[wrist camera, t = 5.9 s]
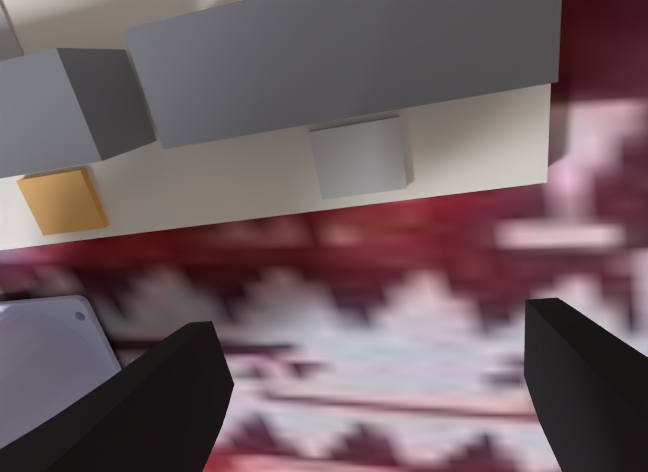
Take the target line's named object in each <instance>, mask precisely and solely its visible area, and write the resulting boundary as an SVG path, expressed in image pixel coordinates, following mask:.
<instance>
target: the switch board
mask: <svg viewBox="0 0 648 472" xmlns="http://www.w3.org/2000/svg"><path fill="white" fill-rule="evenodd" d="M237 1H241V0H0V61H4V60H8V59H12V58H17V57H21V56H25V55H29V54H33V53H37V52H41V51H45V50H49V49H53V48H84V49H124V50H126V53H127V56H128V59H129V62H130V65H131V68H132V70H133V73H134V76H135V79H136V82H137V85H138V88H139V91H140V94H141V97H142V100H143V102H144V105H145V108H146V111H147V114H148V117H149V120H150V123H151V126H152V129H153V131H154V134H155V137H156V140H157V141H156V142H153V143H150V144H147V145H145V146H142V147H139V148H137V149H134V150H131V151H128V152H126V153H123V154H120V155H118V156H115V157H112V158H110V159H107V160H104V161H101V162H95V163H89V164H83V165H77V166H71V167H65V168H59V169H54V170H48V171H42V172H36V173H30V174H24V175H18V176H12V177H6V178H1V179H0V250H6V249H14V248H22V247H30V246H38V245H46V244H54V243H62V242H70V241H78V240H86V239H95V238H103V237H111V236H119V235H127V234H135V233H143V232H151V231H159V230H167V229H175V228H183V227H191V226H199V225H208V224H216V223H224V222H232V221H240V220H248V219H256V218H264V217H272V216H280V215H288V214H296V213H304V212H312V211H320V210H329V209H337V208H345V207H353V206H361V205H369V204H377V203H385V202H393V201H401V200H409V199H417V198H425V197H433V196H441V195H450V194H458V193H466V192H474V191H482V190H490V189H498V188H506V187H514V186H522V185H530V184H538V183H546V182H547V170H548V144H549V119H550V93H551V83H550V84H544V85H538V86H532V87H526V88H520V89H514V90H509V91H503V92H497V93H491V94H485V95H479V96H473V97H468V98H462V99H456V100H450V101H444V102H438V103H432V104H427V105H421V106H415V107H409V108H403V109H397V110H391V111H386V112H380V113H374V114H368V115H362V116H356V117H350V118H345V119H339V120H333V121H327V122H321V123H315V124H309V125H303V126H298V127H292V128H286V129H280V130H274V131H268V132H262V133H257V134H251V135H245V136H239V137H233V138H227V139H221V140H216V141H210V142H204V143H198V144H192V145H186V146H180V147H175V148H169V149H163V147H162V144H161V141H160V138H159V135H158V132H157V129H156V126H155V123H154V120H153V117H152V114H151V111H150V108H149V105H148V102H147V100H146V97H145V94H144V91H143V88H142V85H141V82H140V79H139V76H138V73H137V70H136V67H135V64H134V61H133V58H132V55H131V52H130V50H129V47H128V44H127V41H126V38H125V35H124V32H123V29H127V28H132V27H136V26H140V25H144V24H148V23H152V22H156V21H160V20H164V19H168V18H172V17H176V16H180V15H184V14H188V13H192V12H197V11H201V10H205V9H209V8H213V7H217V6H221V5H225V4H229V3H233V2H237Z"/></svg>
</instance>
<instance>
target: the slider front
mask: <svg viewBox="0 0 648 472" xmlns="http://www.w3.org/2000/svg"><path fill="white" fill-rule="evenodd" d="M561 7H562V0H241V1H237V2H233V3H229V4H225V5H221V6H217V7H213V8H209V9H205V10H201V11H197V12H192V13H188V14H184V15H180V16H176V17H172V18H168V19H164V20H160V21H156V22H152V23H148V24H144V25H140V26H136V27H132V28H127V29H123V32H124V35H125V38H126V41H127V44H128V47H129V50H130V52H131V55H132V58H133V61H134V64H135V67H136V70H137V73H138V76H139V79H140V82H141V85H142V88H143V91H144V94H145V97H146V100H147V102H148V105H149V108H150V111H151V114H152V117H153V120H154V123H155V126H156V129H157V132H158V135H159V138H160V141H161V144H162V147H163V149H169V148H175V147H180V146H186V145H192V144H198V143H204V142H210V141H216V140H221V139H227V138H233V137H239V136H245V135H251V134H257V133H262V132H268V131H274V130H280V129H286V128H292V127H298V126H303V125H309V124H315V123H321V122H327V121H333V120H339V119H345V118H350V117H356V116H362V115H368V114H374V113H380V112H386V111H391V110H397V109H403V108H409V107H415V106H421V105H427V104H432V103H438V102H444V101H450V100H456V99H462V98H468V97H473V96H479V95H485V94H491V93H497V92H503V91H509V90H514V89H520V88H526V87H532V86H538V85H544V84H550V83H555V82H558V73H559V51H560V29H561Z"/></svg>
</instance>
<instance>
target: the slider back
mask: <svg viewBox="0 0 648 472" xmlns="http://www.w3.org/2000/svg"><path fill="white" fill-rule="evenodd" d="M156 141H157V140H156V137H155V134H154V131H153V129H152V126H151V123H150V120H149V117H148V114H147V111H146V108H145V105H144V102H143V100H142V97H141V94H140V91H139V88H138V85H137V82H136V79H135V76H134V73H133V70H132V68H131V65H130V62H129V59H128V56H127V53H126V50H124V49H84V48H53V49H49V50H45V51H41V52H37V53H33V54H29V55H25V56H21V57H17V58H12V59H8V60H4V61H0V179H1V178H6V177H12V176H18V175H24V174H30V173H36V172H42V171H48V170H54V169H59V168H65V167H71V166H77V165H83V164H89V163H95V162H101V161H104V160H107V159H110V158H112V157H115V156H118V155H120V154H123V153H126V152H128V151H131V150H134V149H137V148H139V147H142V146H145V145H147V144H150V143H153V142H156Z"/></svg>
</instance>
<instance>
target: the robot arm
mask: <svg viewBox="0 0 648 472" xmlns="http://www.w3.org/2000/svg"><path fill="white" fill-rule="evenodd" d="M82 313H83V314H82ZM524 377H525V380H526V383H527V386H528V389H529V392H530V395H531V399H532V402H533V405H534V408H535V410H536V413H537V416H538V419H539V422H540V424H541V426H542V429H543V431H544V433H545V435H546V437H547V440H548V442H549V444H550V446H551V448H552V451H553V453H554V455H555V457H556V459H557V461H558V464H559V466H560V468H561V470H562V472H648V357H646V356H645V355H643V354H642V353H640V352H639V351H637V350H635V349H634V348H632V347H631V346H629V345H628V344H626V343H625V342H623V341H622V340H620V339H619V338H617V337H616V336H614V335H613V334H611V333H610V332H608V331H607V330H605V329H604V328H602V327H601V326H599V325H598V324H596V323H595V322H593V321H592V320H590V319H589V318H587V317H586V316H584V315H583V314H582V313H580V312H579V311H577V310H576V309H574V308H573V307H571V306H570V305H568V304H567V303H565V302H564V301H562V300H560V299H559V298H545V299H531V300H525V352H524ZM233 387H234V383H233V380H232V377H231V374H230V371H229V368H228V366H227V363H226V360H225V357H224V354H223V351H222V349H221V346H220V343H219V340H218V337H217V334H216V332H215V329H214V326H213V323H212V321H208V322H193V323H188V324H187V325H185V326H183V327H182V328H180V329H179V330H177V331H175V332H174V333H173V334H171V335H170V336H168V337H167V338H165V339H164V340H162V341H161V342H160V343H158V344H157V345H155V346H154V347H153V348H151V349H150V350H148V351H147V352H146V353H144V354H143V355H142V356H140V357H139V358H137V359H136V360H135V361H133V362H132V363H130V364H129V365H128V366H126V367H125V368H123V369H121V367H120V365H119V363H118V360H117V358H116V356H115V354H114V352H113V350H112V348H111V346H110V344H109V342H108V340H107V338H106V336H105V334H104V332H103V330H102V328H101V326H100V323H99V321H98V319H97V317H96V315H95V313H94V311H93V309H92V307H91V305H90V303H89V301H88V300H87V299H86V298H85V297H83V296H81V295H69V296H58V297H47V298H36V299H25V300H14V301H3V302H0V472H202V471H203V469H204V467H205V464H206V462H207V460H208V458H209V455H210V453H211V451H212V448H213V446H214V444H215V441H216V439H217V437H218V434H219V432H220V429H221V427H222V425H223V421H224V418H225V415H226V412H227V409H228V405H229V402H230V398H231V394H232V391H233Z"/></svg>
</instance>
